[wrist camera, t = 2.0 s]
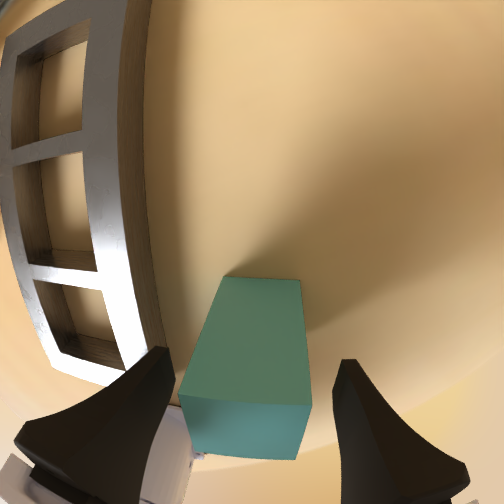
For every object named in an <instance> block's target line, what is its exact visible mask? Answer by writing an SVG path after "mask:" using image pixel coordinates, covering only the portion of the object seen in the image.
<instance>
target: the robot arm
mask: <svg viewBox="0 0 504 504" xmlns="http://www.w3.org/2000/svg"><path fill="white" fill-rule="evenodd" d="M175 381H176V378H175V374H174V370H173V366H172V361H171V357H170V352H169V348H168V347H162V346H154V347H153V348H152V349H151V350H150V351H149V352H147V353H146V354H145V355H144V356H143V357H142V358H141V359H140V360H138V361H137V362H136V363H135V364H134V365H133V366H132V367H130V368H129V369H128V370H127V371H126V372H124V373H123V374H122V375H121V376H120V377H118V378H117V379H116V380H114V381H113V382H112V383H110V384H109V385H108V386H106V387H105V388H104V389H102V390H101V391H99V392H98V393H96V394H94V395H93V396H91V397H89V398H88V399H86V400H84V401H82V402H80V403H78V404H76V405H74V406H72V407H70V408H68V409H65V410H63V411H60V412H58V413H55V414H52V415H49V416H46V417H42V418H38V419H34V420H30V421H26V422H25V424H24V425H23V427H22V428H21V430H20V431H19V433H18V434H17V436H16V438H15V439H14V443H15V445H16V446H17V448H18V449H19V450H20V451H21V452H23V453H24V454H25V455H26V456H27V457H28V458H29V459H30V460H31V461H32V462H33V463H34V464H35V466H34V468H32V467H30V466H29V465H28V464H26V463H25V462H23V461H22V460H21V459H19V458H18V457H17V456H15V455H14V454H10V456H9V458H8V459H7V461H6V463H5V464H4V466H3V468H2V469H1V471H0V497H1V498H2V499H4V500H5V501H6V502H7V503H8V504H182V502H183V500H184V496H185V492H186V488H187V485H188V480H189V477H190V473H191V469H192V466H193V462H194V459H199V460H203V459H204V453H203V452H197V451H195V450H194V447H193V444H192V441H191V438H190V435H189V432H188V428H187V425H186V422H185V418H184V415H183V411H182V408H181V407H176V406H171V405H168V404H169V401H170V399H171V395H172V392H173V388H174V384H175ZM332 398H333V413H334V419H335V425H336V431H337V437H338V443H339V448H340V455H341V477H342V478H341V480H342V481H341V504H452V502H451V498H452V497H453V496H455V495H456V494H458V493H459V492H461V491H462V490H463V489H465V488H466V487H467V486H468V485H469V484H470V477H469V474H468V471H467V468H466V466H465V463H463V462H461V461H459V460H457V459H455V458H453V457H450V456H449V455H447V454H445V453H444V452H442V451H441V450H439V449H438V448H436V447H434V446H433V445H432V444H430V443H429V442H427V441H426V440H425V439H424V438H422V437H421V436H420V435H419V434H417V433H416V432H415V431H414V430H413V429H412V428H411V427H410V426H408V425H407V424H406V423H405V422H404V421H403V420H402V419H401V418H400V416H399V415H398V414H397V413H396V412H395V411H394V410H393V409H392V407H391V406H390V405H389V404H388V403H387V402H386V400H385V399H384V398H383V396H382V395H381V394H380V393H379V391H378V390H377V389H376V387H375V386H374V384H373V383H372V382H371V380H370V379H369V377H368V376H367V375H366V373H365V372H364V370H363V369H362V367H361V366H360V364H359V363H358V361H357V360H356V359H342V360H341V364H340V367H339V371H338V374H337V377H336V380H335V384H334V387H333V390H332ZM467 504H479V503H478V500H474V501H472V502H470V503H467Z"/></svg>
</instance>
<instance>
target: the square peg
mask: <svg viewBox="0 0 504 504" xmlns="http://www.w3.org/2000/svg"><path fill="white" fill-rule="evenodd" d="M178 397H179V401H180V404H181V408H182V411H183V415H184V418H185V422H186V425H187V428H188V432H189V435H190V438H191V441H192V444H193V447H194V450H195V451H197V452H203V453H210V454H217V455H224V456H233V457H243V458H255V459H273V460H295V459H296V456H297V453H298V450H299V447H300V444H301V441H302V438H303V435H304V432H305V428H306V425H307V422H308V418H309V415H310V411H311V408H312V395H311V383H310V371H309V360H308V350H307V340H306V331H305V322H304V313H303V304H302V296H301V288H300V280H283V279H262V278H243V277H226V276H223V278H222V281H221V283H220V286H219V288H218V291H217V293H216V296H215V298H214V301H213V303H212V306H211V308H210V311H209V313H208V316H207V318H206V321H205V324H204V326H203V329H202V331H201V334H200V336H199V339H198V342H197V344H196V347H195V349H194V352H193V354H192V357H191V360H190V362H189V365H188V368H187V370H186V373H185V375H184V378H183V381H182V383H181V386H180V389H179V391H178Z"/></svg>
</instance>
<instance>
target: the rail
mask: <svg viewBox="0 0 504 504" xmlns="http://www.w3.org/2000/svg"><path fill="white" fill-rule="evenodd" d="M151 1H152V0H65V1H63V2H62V3H60V4H58V5H56V6H54V7H52V8H51V9H49V10H47V11H45V12H44V13H42V14H40V15H39V16H37V17H36V18H34V19H32V20H31V21H29V22H28V23H26V24H25V25H23V26H22V27H20V28H19V29H17V30H16V31H15V32H13V33H12V34H10V35H9V36H8V37H6V41H5V45H4V50H3V55H2V61H1V67H0V205H1V212H2V218H3V223H4V229H5V234H6V238H7V243H8V247H9V251H10V255H11V259H12V263H13V266H14V270H15V273H16V277H17V280H18V283H19V286H20V290H21V293H22V296H23V298H24V301H25V304H26V307H27V309H28V312H29V315H30V317H31V320H32V322H33V325H34V327H35V330H36V332H37V334H38V337H39V339H40V341H41V343H42V346H43V348H44V350H45V352H46V354H47V356H48V358H49V360H50V362H51V364H52V366H53V368H55V369H57V370H60V371H63V372H65V373H68V374H71V375H74V376H76V377H79V378H82V379H85V380H88V381H91V382H94V383H97V384H101V385H104V386H108V385H109V384H110V383H112V382H113V381H114V380H116V379H117V378H118V377H120V376H121V375H122V374H123V373H124V372H126V371H127V370H128V369H129V368H130V367H132V366H133V365H134V364H135V363H136V362H137V361H138V360H140V359H141V358H142V357H143V356H144V355H145V354H146V353H147V352H149V351H150V350H151V349H152V348H153V347H154V346H162V347H167V346H166V341H165V336H164V331H163V326H162V321H161V315H160V310H159V304H158V298H157V292H156V286H155V279H154V272H153V265H152V257H151V249H150V241H149V231H148V221H147V210H146V198H145V182H144V162H143V87H144V67H145V53H146V42H147V32H148V23H149V15H150V8H151ZM87 40H88V43H87V51H86V59H85V69H84V81H83V99H82V130H80V131H75V132H71V133H67V134H63V135H59V136H55V137H52V138H48V139H45V140H41V141H39V98H40V84H41V74H42V66H43V60H44V59H46V58H48V57H50V56H52V55H54V54H56V53H58V52H60V51H63V50H65V49H67V48H69V47H72V46H74V45H77V44H79V43H82V42H84V41H87ZM80 152H83V169H84V182H85V193H86V202H87V210H88V218H89V225H90V231H91V237H92V243H93V249H94V252H86V251H71V250H55V249H52V248H51V243H50V238H49V233H48V227H47V222H46V215H45V209H44V202H43V194H42V185H41V174H40V161H41V160H45V159H49V158H54V157H59V156H64V155H69V154H74V153H80ZM61 284H66V285H72V286H79V287H86V288H93V289H100V290H102V291H103V295H104V299H105V303H106V307H107V310H108V314H109V318H110V321H111V325H112V328H113V331H114V335H115V338H116V341H117V343H114V342H110V341H105V340H101V339H97V338H92V337H88V336H84V335H80V334H77V333H76V330H75V328H74V325H73V322H72V319H71V316H70V313H69V310H68V307H67V304H66V301H65V298H64V294H63V291H62V288H61Z"/></svg>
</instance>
